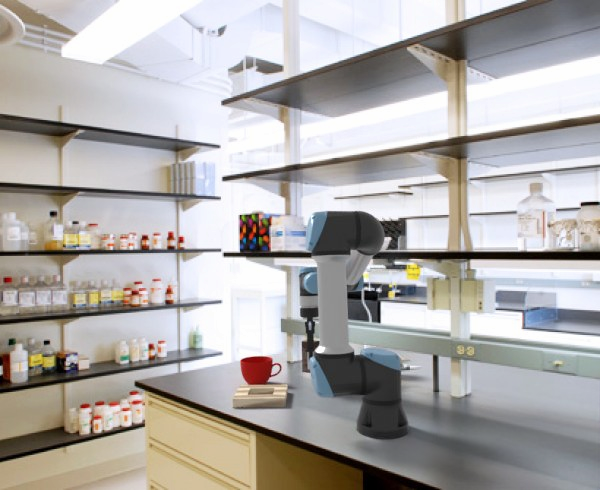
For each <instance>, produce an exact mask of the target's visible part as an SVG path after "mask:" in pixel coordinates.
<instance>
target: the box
mask: <svg viewBox="0 0 600 490" xmlns="http://www.w3.org/2000/svg"><path fill="white" fill-rule="evenodd" d="M319 344H320V341H319V340H314V357H315V349H316V348H317V347H318V346H319ZM309 348H312V347H309ZM305 350H307V339H305V340H302V341H301V366H302V367H301V369H302V370H301V372H302V373H307V374H308V373H309V374H311V373H310V369H308V364H307V352H306V351H305Z"/></svg>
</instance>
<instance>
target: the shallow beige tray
mask: <svg viewBox="0 0 600 490" xmlns="http://www.w3.org/2000/svg"><path fill="white" fill-rule="evenodd" d="M288 390H289V389H288V384H265V385H249V384H245V385H242V384H241V385H239V386H238V388H237V390H236V392H235V393H234V396H233V397H232V408H234V409H236V408H238V407H239V408H241V407H243V408H285V407H286V404H287V399H288V393H289V391H288ZM239 408H238V409H239ZM241 409H242V408H241Z"/></svg>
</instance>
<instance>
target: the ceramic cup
mask: <svg viewBox="0 0 600 490" xmlns="http://www.w3.org/2000/svg"><path fill="white" fill-rule="evenodd" d="M273 361H274V360H273V358H272V357H271V356H263V355H256V356H254V355H253V356H247V357H243V358H241V359H240V362H239V363H240V372H241V376H242V378H243V380H244V381H245V382H246V383H247V385H267V382H269V380H270V379H271V378H273V377H276V376H278V375H279V374H280V373H281V372H282V369H283V367H282V365H281V363H279V362H275V363H273ZM275 366H278V368H279V370H278V371H277V372H276V373H274V374H272V372H273V371H272V370H273V368H274V367H275Z"/></svg>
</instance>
